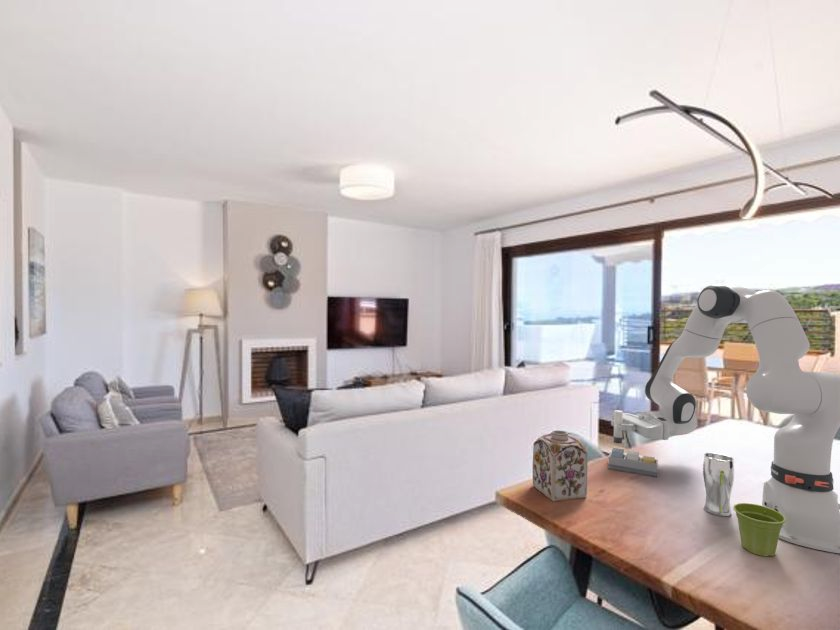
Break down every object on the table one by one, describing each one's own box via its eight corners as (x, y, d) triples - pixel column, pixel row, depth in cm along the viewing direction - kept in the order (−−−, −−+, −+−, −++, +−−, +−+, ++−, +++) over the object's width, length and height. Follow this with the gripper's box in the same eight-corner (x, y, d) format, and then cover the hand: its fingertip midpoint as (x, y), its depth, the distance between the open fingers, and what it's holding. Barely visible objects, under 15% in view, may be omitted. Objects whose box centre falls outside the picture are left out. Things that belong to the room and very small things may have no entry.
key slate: (622, 461, 150) (623, 452, 150) (611, 459, 152) (611, 450, 152) (623, 457, 153) (623, 449, 153) (612, 456, 155) (612, 447, 155)
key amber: (654, 469, 145) (654, 460, 145) (642, 467, 147) (642, 458, 147) (654, 466, 149) (654, 457, 148) (642, 464, 150) (642, 455, 150)
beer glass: (703, 513, 116) (704, 458, 116) (700, 503, 122) (702, 450, 122) (735, 519, 113) (736, 462, 113) (730, 509, 119) (732, 454, 119)
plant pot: (786, 567, 92) (787, 526, 92) (732, 551, 98) (732, 513, 98) (783, 547, 100) (784, 510, 100) (733, 534, 106) (733, 499, 105)
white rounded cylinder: (621, 443, 151) (622, 412, 150) (613, 442, 152) (613, 411, 152) (622, 441, 153) (623, 410, 153) (613, 440, 155) (614, 409, 154)
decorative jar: (552, 502, 122) (553, 439, 122) (531, 486, 133) (532, 427, 133) (588, 498, 125) (589, 436, 125) (565, 482, 136) (566, 425, 136)
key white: (638, 463, 148) (638, 454, 148) (626, 461, 149) (626, 453, 149) (638, 460, 151) (639, 451, 151) (627, 458, 153) (627, 450, 153)
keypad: (657, 477, 141) (657, 468, 141) (607, 468, 148) (607, 459, 148) (657, 464, 152) (657, 456, 152) (611, 457, 160) (611, 449, 159)
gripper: (632, 408, 165) (599, 409, 162) (672, 422, 145) (634, 424, 142) (631, 424, 165) (598, 426, 163) (671, 441, 145) (634, 443, 142)
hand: (615, 425), depth 152 cm, fingers closed on white rounded cylinder, 3 cm apart
